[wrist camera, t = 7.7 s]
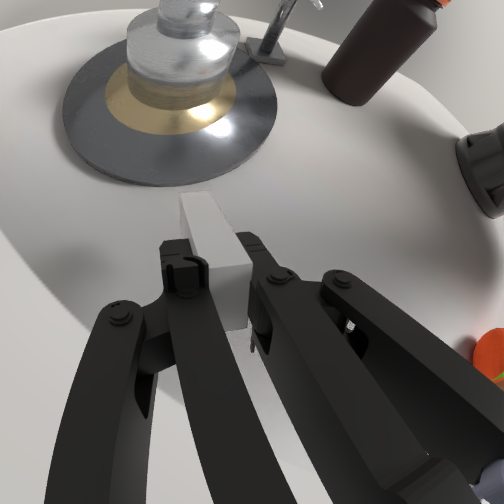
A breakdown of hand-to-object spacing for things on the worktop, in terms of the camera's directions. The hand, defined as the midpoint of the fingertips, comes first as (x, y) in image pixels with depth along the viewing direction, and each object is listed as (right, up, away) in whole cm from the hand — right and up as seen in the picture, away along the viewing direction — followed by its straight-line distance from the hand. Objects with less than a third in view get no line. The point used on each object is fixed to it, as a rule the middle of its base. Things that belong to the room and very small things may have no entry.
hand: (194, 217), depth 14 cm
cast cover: (-4, +14, +8) cm, 17 cm away
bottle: (+14, +19, +17) cm, 29 cm away
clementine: (+31, -15, +12) cm, 37 cm away
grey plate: (-5, +13, +9) cm, 16 cm away
